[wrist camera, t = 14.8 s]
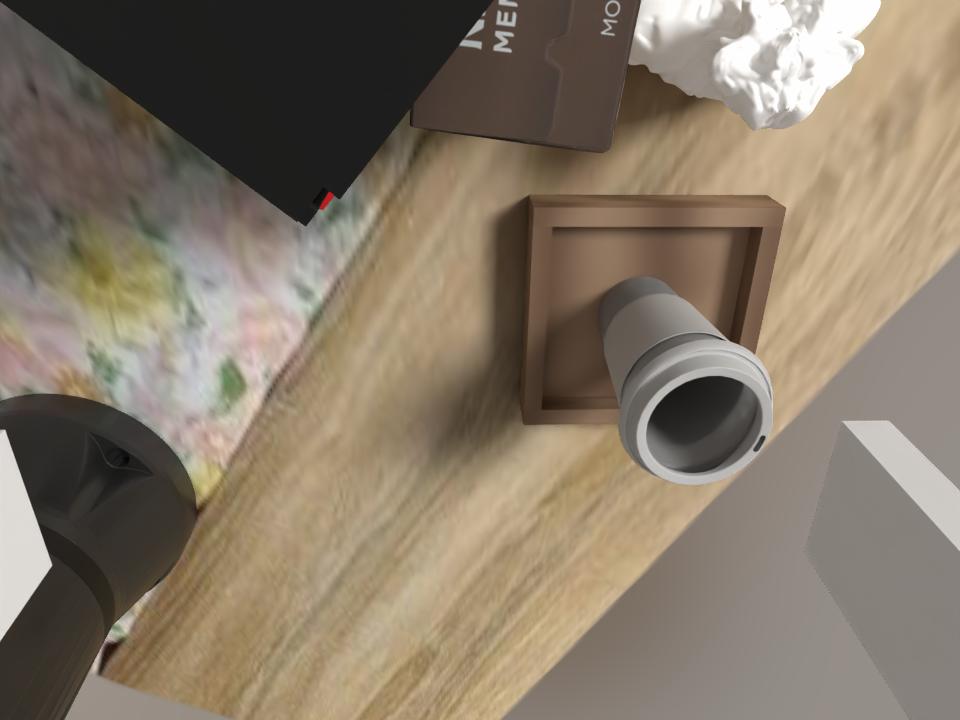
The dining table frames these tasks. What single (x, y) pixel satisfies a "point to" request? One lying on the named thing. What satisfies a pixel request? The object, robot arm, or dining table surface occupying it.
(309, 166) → the electrical component
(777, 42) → the white lumpy piece
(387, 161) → the dining table surface
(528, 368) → the tray
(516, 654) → the dining table surface
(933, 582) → the robot arm
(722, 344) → the cup
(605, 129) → the coffee box
